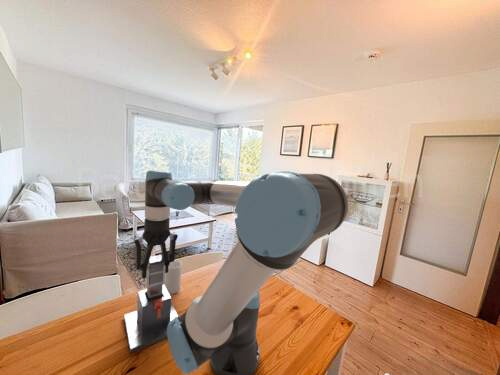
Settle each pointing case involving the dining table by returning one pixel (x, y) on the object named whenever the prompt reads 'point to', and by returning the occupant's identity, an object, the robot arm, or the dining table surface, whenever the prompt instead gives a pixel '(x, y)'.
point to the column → (155, 277)
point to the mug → (173, 277)
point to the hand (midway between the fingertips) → (154, 283)
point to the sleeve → (149, 320)
